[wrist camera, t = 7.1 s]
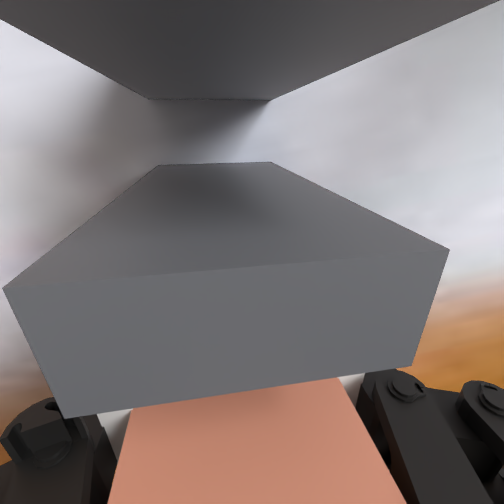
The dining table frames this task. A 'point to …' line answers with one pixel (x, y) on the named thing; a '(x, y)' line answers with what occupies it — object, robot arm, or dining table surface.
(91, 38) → the domino
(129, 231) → the domino
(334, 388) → the domino
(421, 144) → the dining table surface
